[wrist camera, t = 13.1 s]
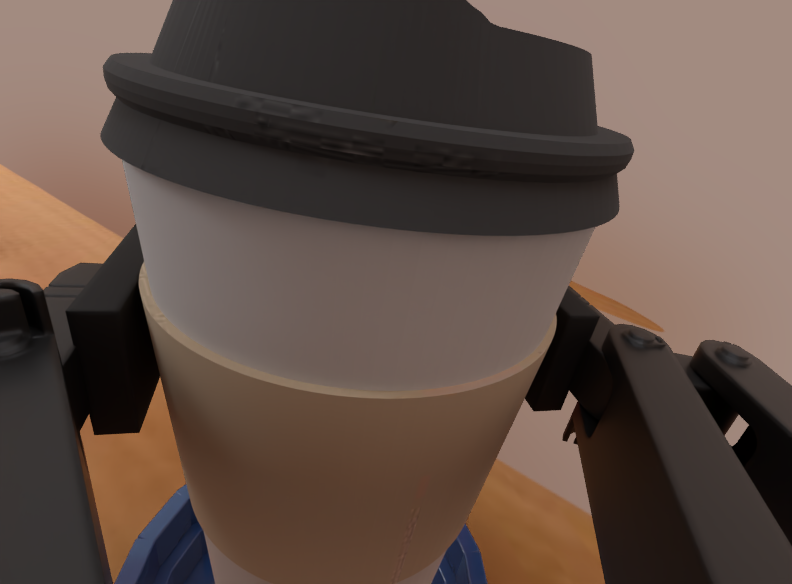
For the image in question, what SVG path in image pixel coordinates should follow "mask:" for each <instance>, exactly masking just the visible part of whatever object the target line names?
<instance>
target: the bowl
mask: <svg viewBox="0 0 792 584" xmlns="http://www.w3.org/2000/svg"><path fill="white" fill-rule="evenodd" d="M114 584H215V580H214V576H213V571H212V567H211V562H210V558H209V553H208V549H207V544H206V540H205V535H204V530H203V529H202V527H201V526H200V524H199V522H198V520H197V518H196V516H195V513H194V511H193V508H192V505H191V501H190V497H189V493H188V489H187V485H186V484H185V485H184V486H183V487H181V488H180V489H179V490H177V491H176V493H175V494H174V495H173V496H172V497H171V498H170V499H169V500H168V502H167V503H166V504H165V505H164V506H163V507H162V509H161V510H160V511H159V512H158V513H157V515H156V516H155V517H154V518H153V519H152V520H151V522H150V523H149V524H148V525H147V526H146V527H145V529H144V530H143V531H142V532H141V533H140V534H139V536H138V538H137V539H136V540H135V542H134V544H133V546H132V548H131V550H130V552H129V554H128V556H127V558H126V560H125V563H124V565H123V567H122V569H121V571H120V573H119V575H118V577H117V579H116V581H115V583H114ZM431 584H487V579H486V575H485V570H484V566H483V561H482V557H481V553H480V551H479V548H478V546H477V544H476V543H475V541H474V539H473V537H472V535H471V533H470V531H469V529H468V527H467V526H466V524H465V525H464V527H463V528H462V530H461V532H460V533H459V535H458V536H457V538H456V539H455V541H454V542H453V543H452V544H451V546H450V547H449V548H448V549H447V550H446V552H445V555H444V557H443V559H442V561H441V563H440V565H439V568H438V570H437V572H436V574H435V576H434V578H433V581H432V583H431Z"/></svg>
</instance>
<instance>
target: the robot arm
mask: <svg viewBox="0 0 792 584" xmlns="http://www.w3.org/2000/svg"><path fill="white" fill-rule="evenodd" d="M143 262H144V258H143V253H142V249H141V244H140V239H139V235H138V230H137V226H136V224H135V225H134V227H133V228H132V229H131V230H130V232H129V233H128V234H127V236H126V237H125V238H124V239H123V240H122V242H121V243H120V244H119V245H118V246H117V248H116V249H115V250H114V251H113V253H112V254H111V255H110V256H109V258H108V259H107V260H106V261H105V263H104V264H98V263H79V264H77V265H75V266H73V267H71V268H69V269H67V270H65V271H63V272H61V273H59V274H58V275H57V277H56V278H55V279H54V280H53V281H52V282H51V283H50V284H49V287H46V288H45V289H44V290H43V289H42V288H41V287H40V286H39V285H38V284H36V283H33V282H30V281H27V280H19V279H0V584H113V582H112V577H111V573H110V568H109V563H108V559H107V554H106V550H105V545H104V540H103V536H102V531H101V526H100V522H99V517H98V512H97V508H96V503H95V498H94V494H93V489H92V485H91V480H90V475H89V471H88V466H87V461H86V457H85V452H84V447H83V443H82V439H81V436H80V430H81V428H82V426H83V424H84V422H85V420H86V418H87V416H88V415H89V414H90V419H91V423H92V427H93V431H94V435H104V434H123V433H139V432H140V429H141V427H142V424H143V421H144V418H145V416H146V413H147V410H148V408H149V405H150V402H151V399H152V397H153V394H154V391H155V389H156V386H157V383H158V380H159V378H160V373H159V369H158V365H157V361H156V357H155V352H154V348H153V344H152V340H151V336H150V332H149V328H148V323H147V319H146V315H145V311H144V307H143V303H142V299H141V294H140V290H139V274H140V270H141V267H142V264H143ZM589 304H590V303H589V302H588V301H586V300H585V299H584V298H583V297H581V295H579V294H578V293H577V292H576V291H575V290H574V289H572V288H571V287H570V286H568V288H567V290H566V292H565V294H564V296H563V298H562V301H561V303H560V305H559V307H558V309H557V311H556V317H557V325H556V331H555V335H554V337H553V339H552V342H551V344H550V346H549V348H548V350H547V352H546V354H545V356H544V359H543V361H542V363H541V365H540V367H539V369H538V371H537V373H536V375H535V377H534V380H533V382H532V384H531V386H530V388H529V390H528V392H527V394H526V396H525V399H526V401H527V402H528V404H529V405H530V407H531V408H532V410H533V411H550V410H561V408H562V406H563V403H564V401H565V398H566V396H567V394H568V391H570V392H571V393H572V394H573V395H574V397H575V398H576V399H577V400H578V402H577V404H576V406H575V409H574V411H573V413H572V415H571V418H570V420H569V423H568V424H567V427H566V429H565V431H564V434H563V441H567V440H568V438H569V436H570V434H571V433H573V432H576V438H575V440H574V444H578V447H579V453H580V458H581V463H582V468H583V473H584V478H585V482H586V488H587V493H588V498H589V503H590V508H591V513H592V518H593V523H594V528H595V533H596V538H597V544H598V549H599V554H600V559H601V564H602V569H603V574H604V579H605V584H792V386H791V385H790V384H789V383H788V382H786V381H785V380H784V379H783V378H781V377H780V376H779V375H778V374H777V373H775V372H774V371H773V370H772V369H770V368H769V367H768V366H767V365H765V364H764V363H763V362H762V361H760V360H759V359H758V358H756V357H755V356H753V355H752V354H750V353H748V352H747V351H745V350H744V349H742V348H741V347H739V346H737V345H734V344H733V345H732V344H731V343H728V342H719V341H715V340H705V341H703V342H701V343H700V345H699V347H698V348H697V351H696V352H695V354H694V356H693V357H692V356H687V355H682V354H677V353H673V351H672V350H671V348H670V347H669V345H668V344H667V343H666V342H665V341H664V340H663V339H662V338H661V337H659V336H657V335H655V334H653V333H651V332H649V331H647V330H645V329H642V328H639V327H635V326H633V325H625V324H617V325H614V324H613V323H612V322H611V321H610V320H609V319H607V318H606V317H605V316H604V315H603V314H602V313H600V312H599V311H598V310H597V309H596V308H595V307H593V306H592V305H589ZM738 415H740V416H741V417H742V418H743V419H744V420H745V421H746V422H747V423H748V424H749V426H748V427H747V429H746V430H745V432H744V433H743V435H742V436H741V437H740V439H739V440H738V442H737V443H736V444H735V445H734V446H731V445H729V443H728V441H727V440H726V438H725V434H726V432H727V431H728V430H729V428H730V427H731V425H732V423H733V422H734V421H735V419H736V418H737V416H738Z"/></svg>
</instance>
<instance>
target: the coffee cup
mask: <svg viewBox="0 0 792 584" xmlns="http://www.w3.org/2000/svg"><path fill="white" fill-rule="evenodd" d="M103 72H104V78H105V81H106V84H107V87H108V88H109V90H110V91H111V92H112V93H113V94H114V95H115V96H116V99H115V101H114V103H113V106H112V109H111V110H110V113H109V115H108V117H107V120H106V122H105V124H104V127H103V129H102V131H101V140H102V142H103V143H104V145H105V146H106V147H107V148H108V149H109V150H110V151H111V152H112V153H114V154H115V155H116V156H117V157H119V158H120V159H122V162H123V167H124V171H125V176H126V180H127V185H128V189H129V194H130V199H131V202H132V208H133V212H134V217H135V221H136V226H137V230H138V235H139V239H140V244H141V249H142V253H143V258H144V262H143V264H142V267H141V270H140V274H139V290H140V294H141V299H142V303H143V307H144V311H145V315H146V319H147V323H148V328H149V332H150V336H151V340H152V344H153V348H154V352H155V357H156V361H157V365H158V369H159V373H160V377H161V381H162V385H163V390H164V394H165V398H166V402H167V406H168V410H169V414H170V419H171V423H172V427H173V431H174V435H175V439H176V443H177V447H178V452H179V456H180V460H181V464H182V468H183V472H184V476H185V481H186V485H187V489H188V493H189V497H190V501H191V505H192V508H193V511H194V513H195V516H196V518H197V520H198V522H199V524H200V526H201V527H202V529H203V530H204V535H205V540H206V544H207V549H208V553H209V558H210V562H211V567H212V571H213V576H214V580H215V584H431V583H432V581H433V578H434V576H435V574H436V572H437V570H438V568H439V565H440V563H441V561H442V559H443V557H444V555H445V552H446V550H447V549H448V548H449V547H450V546H451V544H452V543H453V542H454V541H455V539H456V538H457V536H458V535H459V533H460V532H461V530H462V528H463V527H464V525H465V523H466V520H467V518H468V516H469V514H470V512H471V510H472V508H473V506H474V504H475V502H476V499H477V497H478V495H479V493H480V491H481V489H482V487H483V485H484V483H485V480H486V478H487V476H488V474H489V472H490V470H491V468H492V466H493V464H494V462H495V459H496V457H497V455H498V453H499V451H500V449H501V447H502V445H503V442H504V440H505V438H506V436H507V434H508V432H509V430H510V428H511V426H512V424H513V422H514V420H515V417H516V415H517V413H518V411H519V409H520V407H521V405H522V403H523V401H524V398H525V396H526V394H527V392H528V390H529V388H530V386H531V384H532V382H533V380H534V377H535V375H536V373H537V371H538V369H539V367H540V365H541V363H542V361H543V359H544V356H545V354H546V352H547V350H548V348H549V346H550V344H551V342H552V339H553V337H554V335H555V331H556V325H557V317H556V311H557V309H558V307H559V305H560V303H561V301H562V298H563V296H564V294H565V292H566V290H567V288H568V285H569V283H570V281H571V279H572V276H573V274H574V272H575V270H576V268H577V266H578V264H579V261H580V259H581V257H582V255H583V253H584V251H585V248H586V246H587V244H588V242H589V240H590V237H591V236H592V233H593V231H594V229H595V227H596V226H599V225H602V224H604V223H606V222H609V221H610V220H611V219H613V218H614V217H615V216H616V215H617V214H618V212H619V195H618V183H617V173H618V172H620V171H622V170H623V169H625V168H626V166H627V165H628V163H629V162H630V160H631V158H632V155H633V153H634V148H633V145H632V142H631V139H630V138H629V137H627V136H625V135H623V134H621V133H618V132H615V131H612V130H609V129H606V128H603V127H599V126H597V116H596V104H595V92H594V80H593V68H592V56H591V54H590V53H589V52H587V51H585V50H583V49H581V48H578V47H575V46H572V45H569V44H566V43H562V42H559V41H556V40H552V39H548V38H544V37H541V36H537V35H533V34H529V33H524V32H520V31H515V30H512V29H507V28H503V27H499V26H496V25H494V24H492V23H490V22H489V21H488V19H487V18H486V17H485V16H484V15H483V14H482V13H481V12H480V11H479V10H477V9H475V8H474V7H473V6H472V5H470V3H468V2H467V1H466V0H173V1H172V4H171V6H170V9H169V11H168V14H167V17H166V19H165V22H164V24H163V27H162V30H161V32H160V35H159V37H158V40H157V42H156V45H155V48H154V50H153V53H152V54H151V53H119V54H113V55H111V56H110V57H109V58H108V60H107V61H106V62H105V64H104V65H103Z"/></svg>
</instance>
